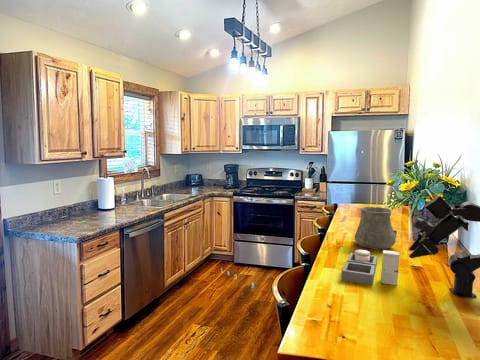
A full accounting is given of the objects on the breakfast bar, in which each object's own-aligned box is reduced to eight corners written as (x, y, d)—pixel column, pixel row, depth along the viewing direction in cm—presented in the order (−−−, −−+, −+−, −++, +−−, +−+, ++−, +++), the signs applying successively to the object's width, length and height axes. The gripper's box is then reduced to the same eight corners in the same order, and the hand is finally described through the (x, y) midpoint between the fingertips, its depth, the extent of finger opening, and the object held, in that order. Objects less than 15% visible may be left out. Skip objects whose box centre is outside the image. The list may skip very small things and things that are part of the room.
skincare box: (380, 283, 138) (382, 252, 137) (380, 279, 143) (382, 249, 141) (398, 285, 136) (399, 254, 135) (397, 281, 140) (399, 251, 139)
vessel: (375, 239, 200) (377, 203, 197) (405, 250, 179) (407, 211, 176) (342, 242, 193) (343, 206, 191) (368, 255, 172) (370, 214, 170)
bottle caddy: (376, 264, 159) (377, 250, 158) (372, 285, 137) (373, 268, 136) (350, 261, 163) (350, 246, 163) (341, 280, 141) (342, 263, 140)
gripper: (426, 206, 139) (394, 231, 145) (429, 216, 123) (393, 243, 128) (448, 228, 137) (415, 252, 143) (454, 241, 120) (416, 268, 126)
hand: (409, 253), depth 135 cm, fingers open, 9 cm apart
